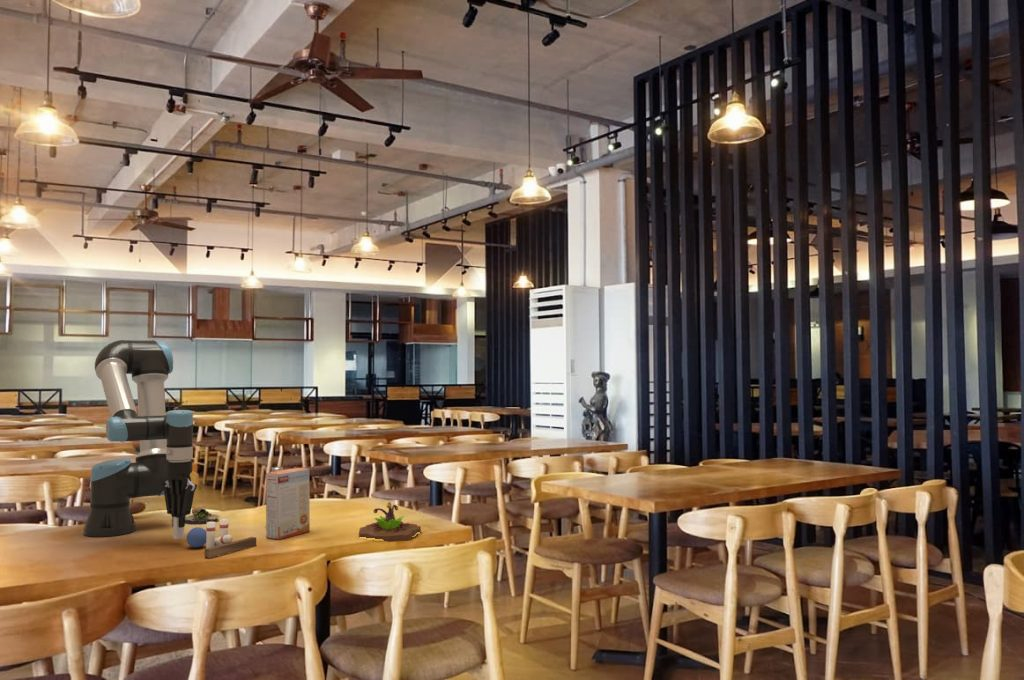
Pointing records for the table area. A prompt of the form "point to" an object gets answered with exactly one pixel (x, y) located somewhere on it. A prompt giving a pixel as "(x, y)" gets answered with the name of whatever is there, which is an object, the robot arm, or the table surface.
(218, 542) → the front pin
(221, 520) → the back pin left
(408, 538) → the plant
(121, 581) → the table surface
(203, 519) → the dish garden
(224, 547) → the back rail
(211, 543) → the back pin right
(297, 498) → the cracker box
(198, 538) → the ball
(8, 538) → the table surface
